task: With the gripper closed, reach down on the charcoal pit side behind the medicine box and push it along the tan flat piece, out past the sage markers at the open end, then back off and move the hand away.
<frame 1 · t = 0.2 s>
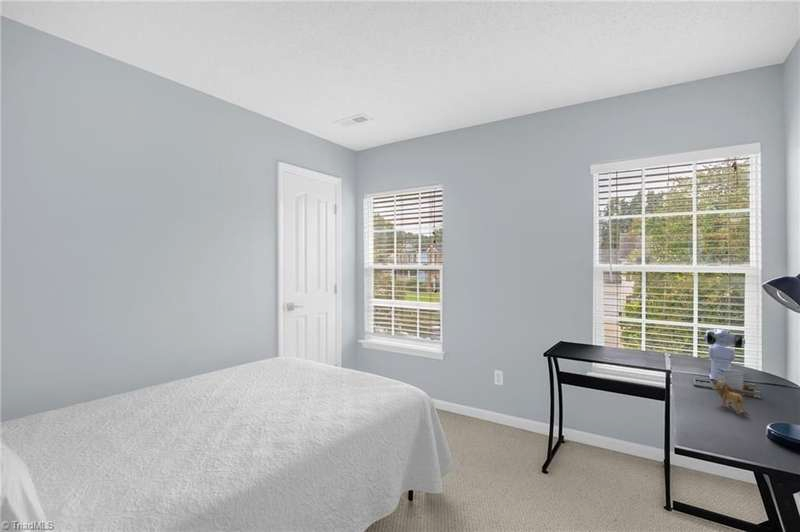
hand: (725, 341, 172), 21 cm above the table, tool horizontal, fingers open, 7 cm apart
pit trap: (703, 384, 177), on the table
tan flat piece: (736, 390, 171), on the table
medicine box: (730, 389, 172), on the table
lion figurine: (729, 409, 147), on the table
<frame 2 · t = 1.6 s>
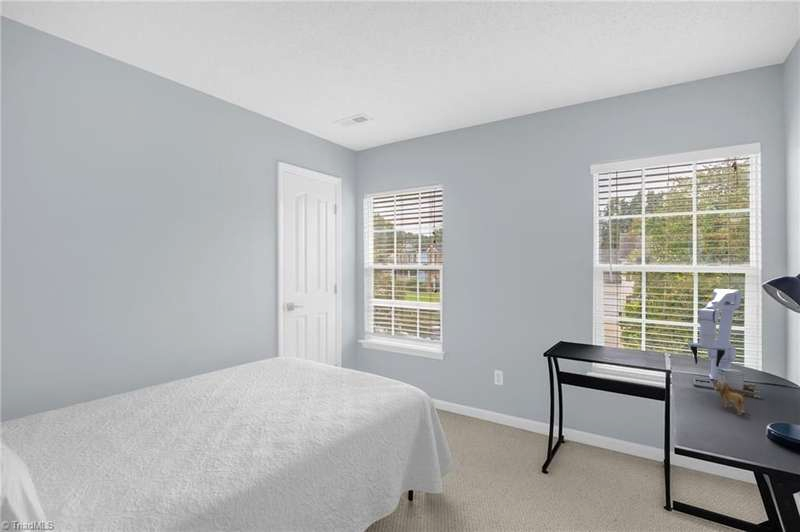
hand: (706, 364, 177), 9 cm above the table, tool pointing down, fingers open, 7 cm apart
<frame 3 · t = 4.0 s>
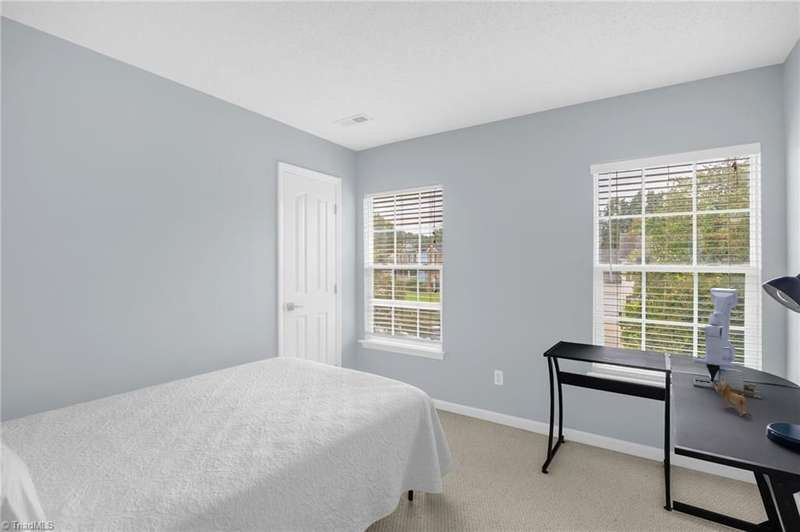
hand: (712, 381, 175), 2 cm above the table, tool pointing down, fingers closed
medicine box: (730, 389, 172), on the table, touching gripper
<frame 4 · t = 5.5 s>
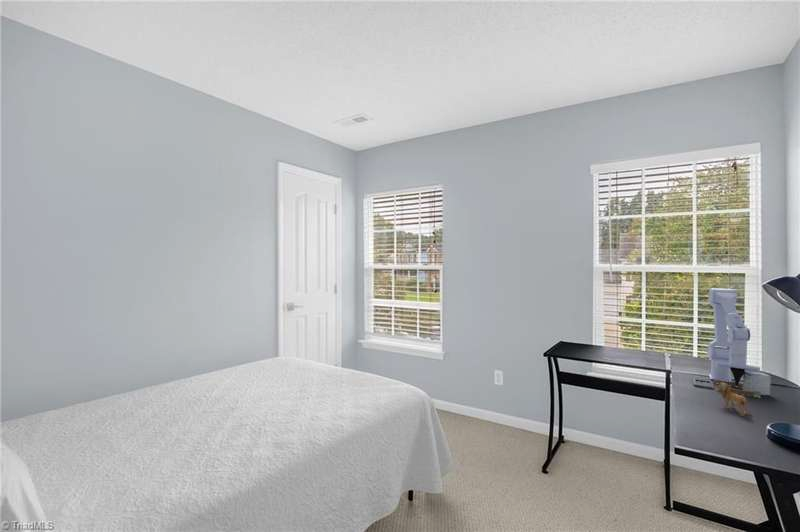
hand: (736, 385, 171), 2 cm above the table, tool pointing down, fingers closed
medicine box: (756, 394, 167), on the table, touching gripper
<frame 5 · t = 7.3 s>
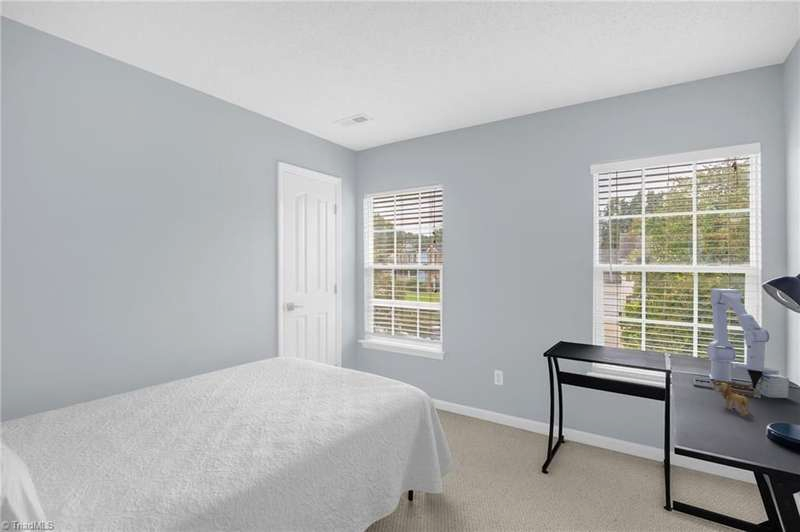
hand: (754, 388, 167), 2 cm above the table, tool pointing down, fingers closed
medicine box: (773, 396, 164), on the table, touching gripper
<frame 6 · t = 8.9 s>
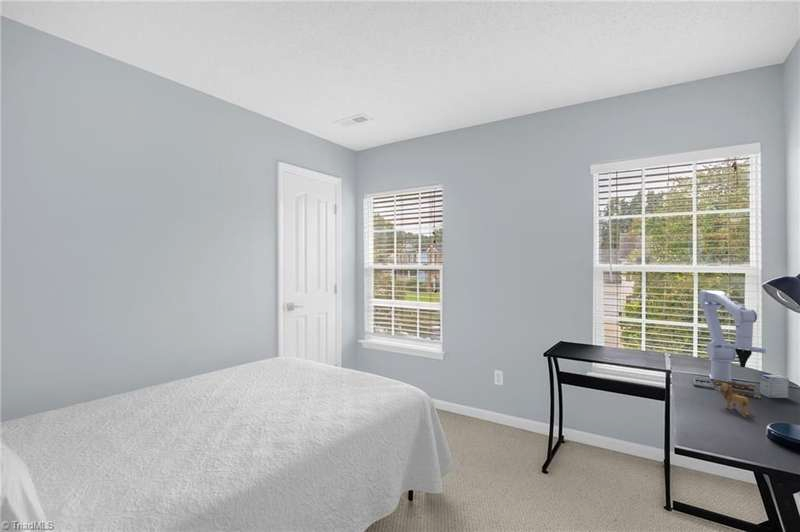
hand: (742, 366, 173), 10 cm above the table, tool pointing down, fingers closed
medicine box: (773, 397, 164), on the table
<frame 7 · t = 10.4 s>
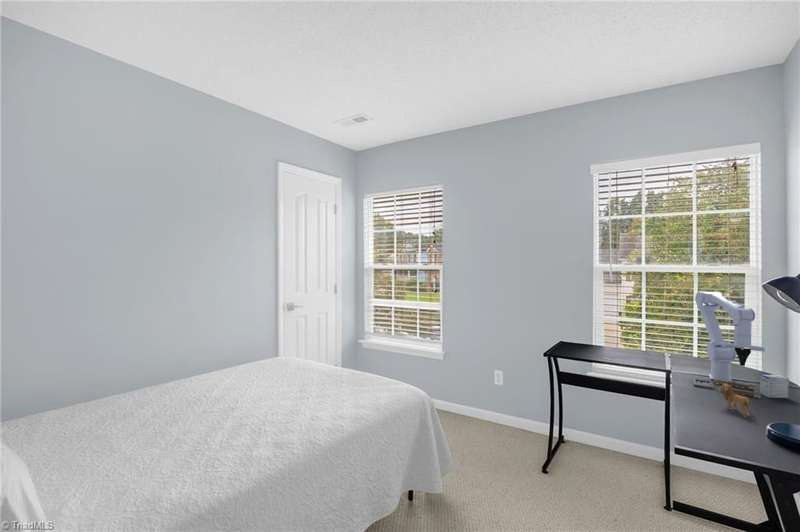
hand: (742, 365, 174), 10 cm above the table, tool pointing down, fingers closed
at the end: medicine box inside the target area (1.0 cm from its centre), on the table; medicine box tilted 0°; the gripper is holding nothing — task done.
